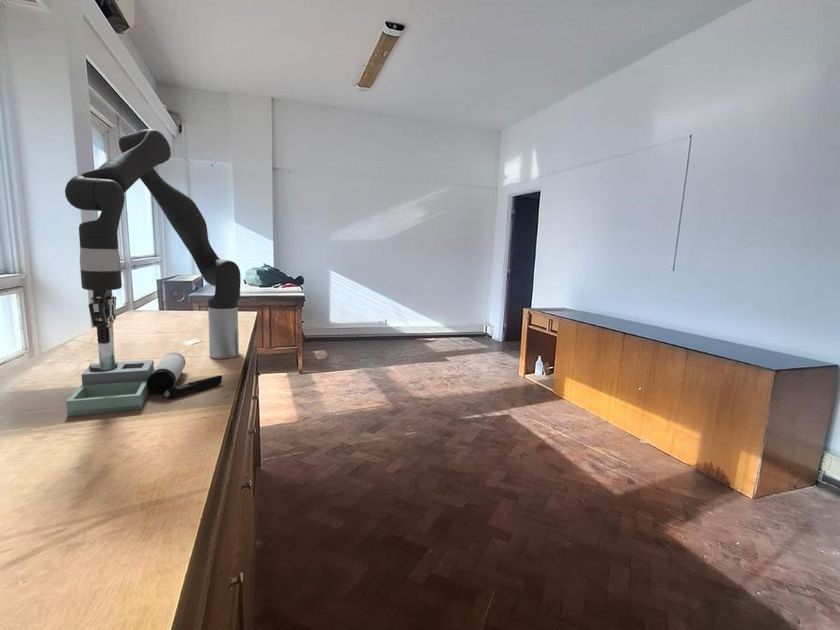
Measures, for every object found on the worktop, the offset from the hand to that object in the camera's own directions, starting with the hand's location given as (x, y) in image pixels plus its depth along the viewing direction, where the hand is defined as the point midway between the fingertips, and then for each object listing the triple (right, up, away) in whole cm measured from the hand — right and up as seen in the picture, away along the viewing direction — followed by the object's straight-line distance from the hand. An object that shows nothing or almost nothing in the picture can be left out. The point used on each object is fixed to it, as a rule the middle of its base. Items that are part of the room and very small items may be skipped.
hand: (106, 341), depth 102 cm
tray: (-1, -15, +3) cm, 16 cm away
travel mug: (0, -8, +28) cm, 29 cm away
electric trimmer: (+13, -15, +14) cm, 24 cm away
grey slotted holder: (-5, -13, +13) cm, 19 cm away
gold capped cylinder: (0, -6, +1) cm, 7 cm away
